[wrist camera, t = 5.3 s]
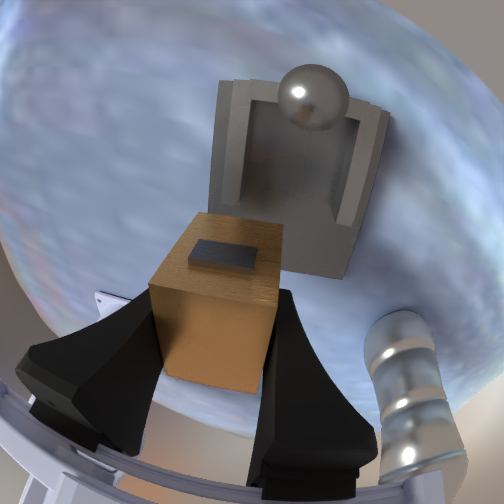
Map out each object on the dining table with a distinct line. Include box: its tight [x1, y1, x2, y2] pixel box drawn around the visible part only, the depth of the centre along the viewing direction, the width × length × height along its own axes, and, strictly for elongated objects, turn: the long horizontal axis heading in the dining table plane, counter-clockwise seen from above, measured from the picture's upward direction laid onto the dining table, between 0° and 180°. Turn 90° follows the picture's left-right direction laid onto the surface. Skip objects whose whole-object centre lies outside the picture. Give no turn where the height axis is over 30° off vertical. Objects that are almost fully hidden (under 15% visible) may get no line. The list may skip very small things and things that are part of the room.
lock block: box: [148, 212, 284, 394], centre depth 10 cm, size 5×4×5 cm
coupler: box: [208, 64, 390, 280], centre depth 14 cm, size 13×10×6 cm
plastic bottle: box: [364, 310, 468, 504], centre depth 14 cm, size 6×7×20 cm
